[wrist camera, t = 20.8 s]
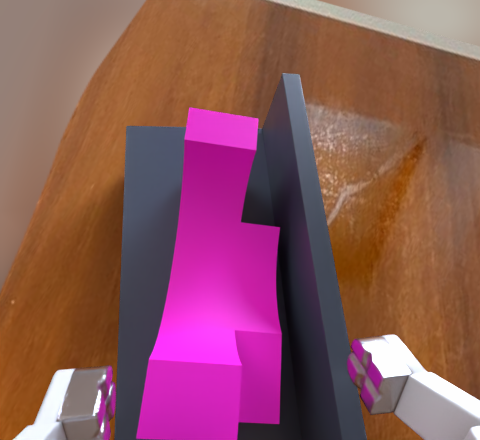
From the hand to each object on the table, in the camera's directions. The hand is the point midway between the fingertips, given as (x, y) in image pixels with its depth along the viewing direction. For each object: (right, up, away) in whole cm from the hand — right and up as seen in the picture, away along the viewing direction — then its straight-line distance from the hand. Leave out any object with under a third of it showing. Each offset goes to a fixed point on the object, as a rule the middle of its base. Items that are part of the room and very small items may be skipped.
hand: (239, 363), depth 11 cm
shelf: (-3, -1, +16) cm, 17 cm away
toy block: (-1, +1, +11) cm, 11 cm away
